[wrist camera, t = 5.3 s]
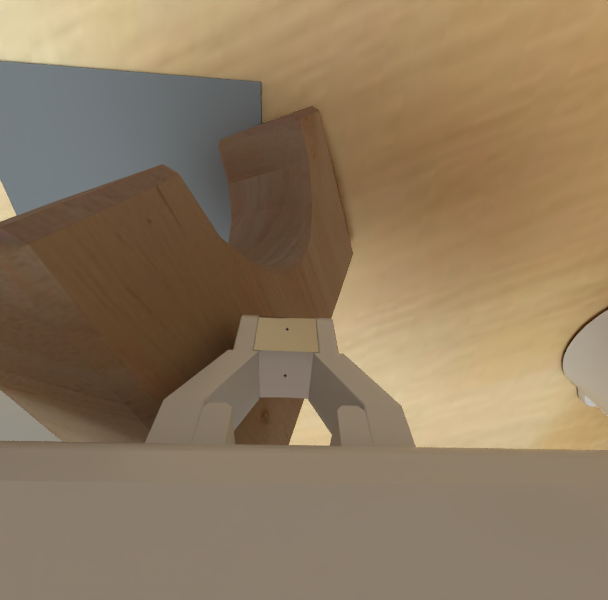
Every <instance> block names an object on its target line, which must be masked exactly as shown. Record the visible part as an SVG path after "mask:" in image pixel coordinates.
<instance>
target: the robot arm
mask: <svg viewBox="0 0 608 600" xmlns="http://www.w3.org/2000/svg"><path fill="white" fill-rule="evenodd" d="M563 371H564V374H565V376H566V377H567V378H568V379H569V380H570V381H571V382H572V383H573V384H574V385H576V386H577V388H578V395H579V398H580V400H582V401H583V402H584V403H585V404H586V405H587V406H591V407H594V406H597V407H598V408H599V409H600V410H602V411H603V412H604V413H605V414H606V415H607V416H608V310H607V311H605V312H603V313H602V314H600V315H599V316H598V317H596V318H595V319H594V320H592V321H591V322H590V323H589V324H588V325H586V326H585V327H584V328H583V329H582V330H581V331H580V332H579V333H578V334H577V336H576V337H575V338H574V339H573V341H572V342H571V343H570V345H569V347H568V348H567V350H566V352H565V355H564V359H563ZM259 397H286V398H305V399H308V400H309V402H310V403H311V405H312V406H313V407H314V409H315V410H316V412H317V413H318V415H319V416H320V418H321V419H322V421H323V422H324V424H325V425H326V427H327V428H328V429H329V431H330V432H331V434H332V438H331V442H330V446H309V445H245V444H235V439H234V430H235V429H236V428H237V427H238V425H239V424H240V423H241V421H242V420H243V419H244V418H245V416H246V415H247V414H248V413H249V411H250V410H251V409H252V408H253V406H254V405H255V404H256V402H257V401H258V400H259ZM0 600H608V450H566V449H501V448H438V447H416V446H415V444H414V441H413V438H412V435H411V432H410V429H409V426H408V423H407V421H406V418H405V415H404V412H403V409H402V406H401V405H400V404H399V403H398V402H396V401H395V400H394V399H393V398H392V397H391V396H390V395H389V394H388V393H386V392H385V391H384V390H383V389H382V388H381V387H380V386H379V385H378V384H376V383H375V382H374V381H373V380H372V379H371V378H370V377H369V376H368V375H366V374H365V373H364V372H363V371H362V370H361V369H360V368H359V367H358V366H357V365H355V364H354V363H353V362H352V361H351V360H350V359H349V358H348V357H347V356H345V355H344V354H339V352H338V347H337V341H336V336H335V330H334V325H333V320H332V319H331V318H315V319H312V318H291V317H275V316H258V315H242V317H241V319H240V323H239V327H238V331H237V336H236V340H235V344H234V348H233V350H227V351H226V352H225V353H223V354H222V355H221V356H219V357H218V358H217V359H216V360H214V361H213V362H212V363H210V364H209V365H208V366H207V367H205V368H204V369H203V370H201V371H200V372H199V373H198V374H196V375H195V376H194V377H192V378H191V379H190V380H188V381H187V382H186V383H185V384H183V385H182V386H181V387H179V388H178V389H177V390H176V391H174V392H173V393H172V394H170V395H169V396H168V397H167V398H165V399H164V400H163V402H162V405H161V407H160V409H159V412H158V414H157V416H156V418H155V421H154V423H153V425H152V428H151V430H150V432H149V434H148V437H147V439H146V441H145V443H114V442H49V441H43V442H42V441H0Z"/></svg>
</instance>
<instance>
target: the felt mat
mask: <svg viewBox="0 0 608 600" xmlns="http://www.w3.org/2000/svg"><path fill="white" fill-rule="evenodd" d="M258 125H261V82H255V81H243V80H230V79H218V78H205V77H193V76H180V75H168V74H155V73H143V72H130V71H118V70H105V69H93V68H81V67H68V66H56V65H43V64H31V63H18V62H6V61H0V180H1V182H2V184H3V186H4V188H5V191H6V193H7V195H8V197H9V199H10V202H11V204H12V206H13V208H14V210H15V213H16V215H20V214H23V213H25V212H28V211H31V210H33V209H36V208H39V207H41V206H44V205H47V204H49V203H52V202H55V201H58V200H61V199H64V198H66V197H69V196H72V195H75V194H78V193H81V192H84V191H87V190H89V189H92V188H95V187H98V186H101V185H104V184H107V183H110V182H112V181H115V180H118V179H121V178H124V177H127V176H130V175H133V174H135V173H138V172H141V171H144V170H147V169H150V168H153V167H156V166H158V165H161V164H163V165H165V166H167V167H169V168H171V169H172V170H174V171H176V172H178V173H179V174H180V176H181V177H182V179H183V180H184V182H185V183H186V185H187V187H188V188H189V190H190V191H191V193H192V194H193V196H194V197H195V199H196V200H197V202H198V204H199V205H200V207H201V208H202V210H203V211H204V213H205V214H206V216H207V217H208V219H209V220H210V222H211V224H212V225H213V227H214V228H215V230H216V231H217V233H218V234H219V236H220V237H221V238H222V239H223V240H225V241H226V242H227V243H228V240H229V233H230V226H231V207H230V192H229V184H228V180H227V177H226V174H225V170H224V167H223V164H222V160H221V157H220V153H219V150H218V145H219V141H220V139H223V138H225V137H228V136H231V135H233V134H236V133H239V132H241V131H244V130H247V129H249V128H252V127H255V126H258Z"/></svg>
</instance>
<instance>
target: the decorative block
mask: <svg viewBox="0 0 608 600" xmlns="http://www.w3.org/2000/svg"><path fill="white" fill-rule="evenodd" d="M218 150H219V153H220V157H221V160H222V164H223V167H224V170H225V174H226V177H227V180H228V184H229V192H230V207H231V226H230V233H229V240H228V243H227V242H226V241H225V240H223V239H222V238H221V237H220V236H219V234H218V233H217V231H216V230H215V228H214V227H213V225H212V224H211V222H210V220H209V219H208V217H207V216H206V214H205V213H204V211H203V210H202V208H201V207H200V205H199V204H198V202H197V200H196V199H195V197H194V196H193V194H192V193H191V191H190V190H189V188H188V187H187V185H186V183H185V182H184V180H183V179H182V177H181V176H180V174H179V173H178V172H176V171H174V170H172V169H171V168H169V167H167V166H165V165H163V164H161V165H158V166H156V167H153V168H150V169H147V170H144V171H141V172H138V173H135V174H133V175H130V176H127V177H124V178H121V179H118V180H115V181H112V182H110V183H107V184H104V185H101V186H98V187H95V188H92V189H89V190H87V191H84V192H81V193H78V194H75V195H72V196H69V197H66V198H64V199H61V200H58V201H55V202H52V203H49V204H47V205H44V206H41V207H39V208H36V209H33V210H31V211H28V212H25V213H23V214H20V215H17V216H15V217H12V218H9V219H7V220H4V221H1V222H0V390H1V391H3V392H4V393H5V394H6V395H7V396H9V397H10V398H11V399H12V400H14V401H15V402H16V403H17V404H18V405H19V406H21V407H22V408H23V409H24V410H25V411H27V412H28V413H29V414H30V415H31V416H32V417H34V418H35V419H36V420H37V421H38V422H40V423H41V424H42V425H43V426H44V427H46V428H47V429H48V430H49V431H50V432H52V433H53V434H54V435H55V436H56V437H57V438H59V439H60V440H61V441H62V442H114V443H145V441H146V439H147V437H148V434H149V432H150V430H151V428H152V425H153V423H154V421H155V418H156V416H157V414H158V412H159V409H160V407H161V405H162V402H163V400H164V399H165V398H167V397H168V396H169V395H170V394H172V393H173V392H174V391H176V390H177V389H178V388H179V387H181V386H182V385H183V384H185V383H186V382H187V381H188V380H190V379H191V378H192V377H194V376H195V375H196V374H198V373H199V372H200V371H201V370H203V369H204V368H205V367H207V366H208V365H209V364H210V363H212V362H213V361H214V360H216V359H217V358H218V357H219V356H221V355H222V354H223V353H225V352H226V351H227V350H233V348H234V344H235V340H236V336H237V331H238V327H239V323H240V319H241V317H242V315H258V316H275V317H291V318H312V319H315V318H331V317H332V314H333V311H334V308H335V306H336V303H337V300H338V297H339V294H340V291H341V288H342V285H343V282H344V279H345V276H346V273H347V270H348V267H349V264H350V261H351V258H352V255H353V251H352V247H351V243H350V239H349V235H348V230H347V226H346V222H345V218H344V213H343V209H342V205H341V201H340V196H339V192H338V188H337V184H336V180H335V175H334V171H333V167H332V163H331V159H330V155H329V150H328V146H327V142H326V138H325V134H324V129H323V125H322V121H321V117H320V113H319V110H317V109H316V108H314V107H313V106H311V107H309V108H306V109H303V110H300V111H297V112H294V113H292V114H289V115H286V116H283V117H280V118H278V119H275V120H272V121H269V122H266V123H264V124H261V125H258V126H255V127H252V128H249V129H247V130H244V131H241V132H239V133H236V134H233V135H231V136H228V137H225V138H223V139H220V141H219V145H218ZM303 401H304V398H286V397H259V400H258V401H257V402H256V404H255V405H254V406H253V408H252V409H251V410H250V411H249V413H248V414H247V415H246V416H245V418H244V419H243V420H242V421H241V423H240V424H239V425H238V427H237V428H236V429H235V430H234V439H235V444H245V445H289V442H290V439H291V436H292V433H293V430H294V427H295V424H296V421H297V418H298V415H299V412H300V409H301V407H302V404H303Z"/></svg>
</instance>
